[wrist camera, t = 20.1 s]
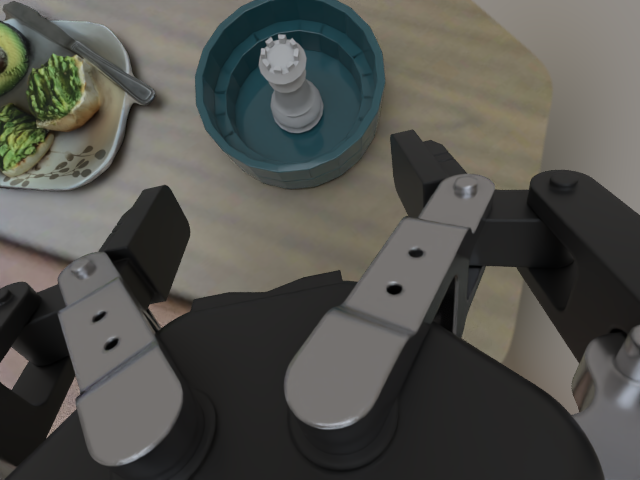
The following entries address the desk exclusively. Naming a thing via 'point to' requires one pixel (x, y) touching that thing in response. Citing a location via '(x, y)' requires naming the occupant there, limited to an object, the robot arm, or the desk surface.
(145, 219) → the robot arm
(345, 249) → the desk surface
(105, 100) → the salad plate
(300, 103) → the rook chess piece
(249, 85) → the bowl
